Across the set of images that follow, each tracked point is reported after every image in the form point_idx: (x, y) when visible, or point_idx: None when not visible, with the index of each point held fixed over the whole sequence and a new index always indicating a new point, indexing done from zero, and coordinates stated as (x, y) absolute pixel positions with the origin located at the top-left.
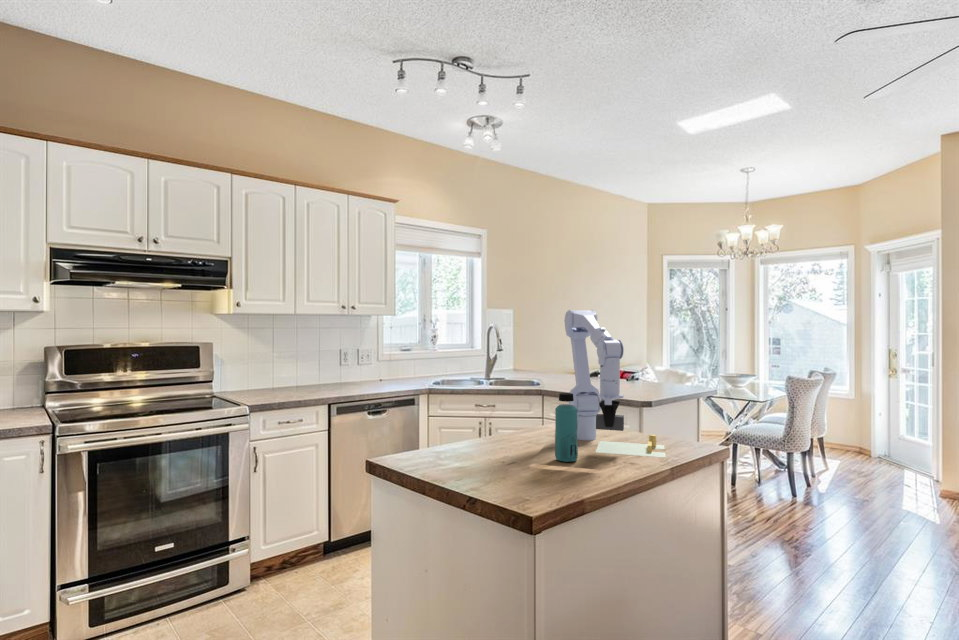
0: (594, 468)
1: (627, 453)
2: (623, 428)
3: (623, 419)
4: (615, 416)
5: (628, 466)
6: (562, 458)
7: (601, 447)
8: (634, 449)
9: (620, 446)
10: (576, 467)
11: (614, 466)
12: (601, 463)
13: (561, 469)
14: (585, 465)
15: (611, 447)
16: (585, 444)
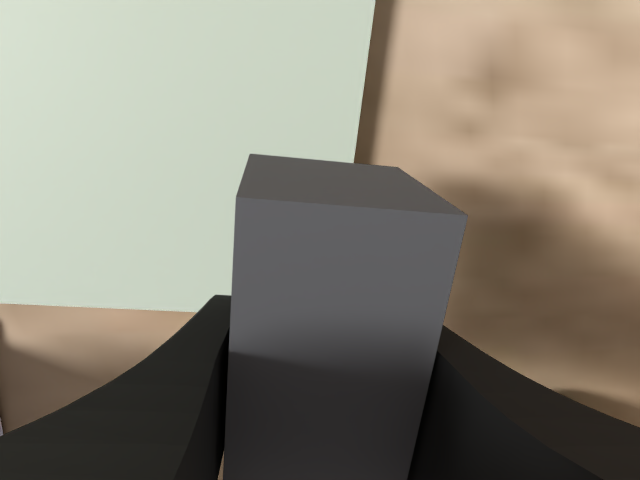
0: (607, 301)
1: (322, 98)
2: (383, 170)
3: (452, 205)
4: (394, 344)
5: (571, 110)
6: None
7: (175, 283)
8: (161, 22)
9: (86, 141)
10: (586, 381)
11: (570, 198)
12: (506, 269)
13: None
14: (550, 345)
15: (149, 213)
16: (19, 374)
